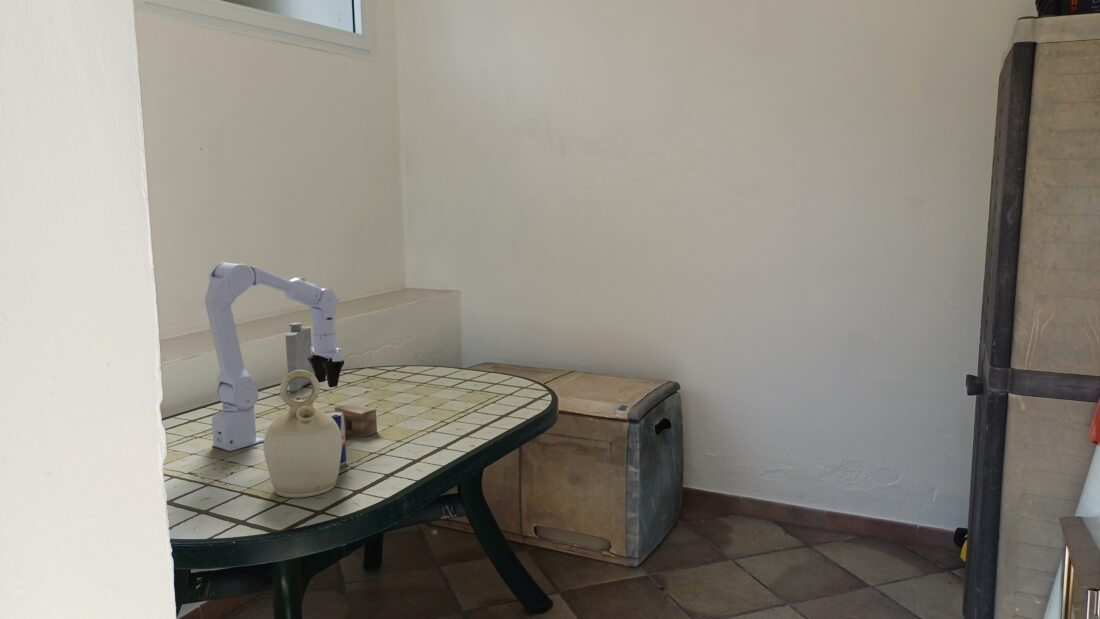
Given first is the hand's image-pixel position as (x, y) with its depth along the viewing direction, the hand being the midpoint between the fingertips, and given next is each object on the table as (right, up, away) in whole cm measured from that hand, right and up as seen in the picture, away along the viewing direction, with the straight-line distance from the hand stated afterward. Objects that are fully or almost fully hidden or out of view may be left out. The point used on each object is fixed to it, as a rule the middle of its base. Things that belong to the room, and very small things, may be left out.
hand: (327, 384), depth 220 cm
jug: (+9, -17, -48) cm, 52 cm away
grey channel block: (+5, -12, -14) cm, 19 cm away
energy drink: (+11, -15, -35) cm, 40 cm away
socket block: (+10, -11, -9) cm, 17 cm away
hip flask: (-20, -4, +43) cm, 48 cm away
